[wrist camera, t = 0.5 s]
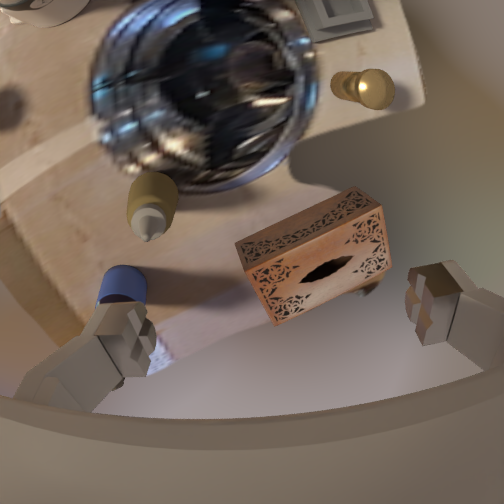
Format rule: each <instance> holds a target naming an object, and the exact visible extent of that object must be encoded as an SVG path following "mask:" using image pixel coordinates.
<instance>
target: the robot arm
mask: <svg viewBox="0 0 504 504" xmlns="http://www.w3.org/2000/svg"><path fill="white" fill-rule="evenodd" d="M89 1H90V0H0V7H1V9H0V10H1V12H3V13H5V14H7V15H9V16H10V21H11V23H13V24H25V23H27V24H31V25H33V26H36V27H43V28H46V27H53V26H57V25H59V24H62V23H64V22H66V21H68V20H70V19H71V18H73V17H74V16H75V15H77V14H78V13H79V12H80V11H81V10H82V9H83V8H84V7H85V6H86V5H87V4H88V2H89ZM407 280H408V281H409V283H410V285H411V286H410V287H409V289H408V290H407V291H406V295H405V306H406V312H407V315H408V317H409V319H410V321H411V322H413V323H415V324H416V329H415V332H416V334H417V336H418V338H419V340H420V342H421V344H422V346H425V345H431V344H435V343H440V342H444V341H447V343H449V344H450V345H451V346H452V347H454V348H455V349H456V350H458V351H459V352H460V353H462V354H463V355H465V356H466V357H467V358H468V359H470V360H471V361H472V362H474V363H475V364H476V365H477V366H479V367H480V368H481V369H483V370H484V371H483V372H481V373H478V374H475V375H472V376H469V377H466V378H463V379H460V380H457V381H454V382H451V383H447V384H444V385H440V386H437V387H433V388H429V389H426V390H422V391H419V392H415V393H410V394H406V395H402V396H398V397H393V398H389V399H384V400H380V401H375V402H370V403H365V404H359V405H354V406H349V407H343V408H336V409H329V410H322V411H315V412H307V413H299V414H289V415H279V416H267V417H253V418H235V419H234V418H233V419H164V418H144V417H129V416H118V415H108V414H99V413H91V412H92V411H93V410H94V409H95V408H96V407H97V405H98V404H99V403H100V402H101V401H102V400H103V399H104V398H105V397H106V396H107V395H108V394H109V392H111V390H112V389H113V388H114V387H115V386H116V385H117V384H118V383H119V382H120V381H121V380H122V379H123V378H122V377H146V375H147V371H148V368H149V365H150V362H151V360H150V358H149V357H148V356H149V355H150V354H151V353H152V352H153V351H154V350H155V347H156V331H155V327H154V325H153V323H152V322H151V321H150V320H148V319H147V318H146V314H147V310H146V307H145V305H144V303H142V302H140V301H136V302H119V303H104V304H100V305H98V306H97V308H96V309H95V311H94V313H93V314H92V316H91V318H90V320H89V321H88V323H87V325H86V326H85V328H84V330H83V332H82V333H81V335H80V336H76V337H75V338H73V339H72V340H70V341H69V342H68V343H66V344H65V345H64V346H62V347H61V348H59V349H58V350H57V351H55V352H54V353H53V354H51V355H50V356H49V357H47V358H46V359H45V360H43V361H42V362H40V363H39V364H38V365H37V366H35V367H34V368H32V369H31V370H30V371H28V372H27V373H26V375H25V377H24V378H23V380H22V382H21V384H20V385H19V387H18V389H17V391H16V393H15V395H14V396H13V398H9V397H5V396H2V395H0V504H504V298H503V297H501V296H499V295H497V294H495V293H493V292H490V291H488V290H486V289H484V288H479V289H478V287H477V286H476V285H475V284H474V283H473V281H472V280H471V279H470V278H469V276H468V275H467V274H466V273H465V272H464V270H463V269H462V268H461V267H460V266H459V265H458V263H457V262H456V261H454V260H448V261H443V262H439V263H435V264H430V265H424V266H419V267H413V268H410V270H409V273H408V279H407Z"/></svg>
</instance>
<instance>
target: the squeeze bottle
mask: <svg viewBox="0 0 504 504" xmlns="http://www.w3.org/2000/svg"><path fill="white" fill-rule="evenodd" d="M177 203H178V189H177V187H176V185H175V183H174V181H173V180H172V179H171V178H169V177H168V176H167V175H165V174H162V173H159V172H147V173H145V174H143V175H141V176H139V177H138V178H137V179H136V180H135V181H134V182H133V183H132V185H131V188H130V191H129V197H128V206H127V220H128V224H129V225H130V227H131V229H132V230H133V232H134V233H135V235H137V236H138V237H139V238H141V239H142V240H143V241H145V242H148V241H150V240H154V239H156V238H158V237H160V236H161V235H162V234H164V233H165V232H166V231H167V230H168V229H169V228H170V226H171V223H172V221H173V217H174V214H175V210H176V206H177Z"/></svg>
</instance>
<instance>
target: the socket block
mask: <svg viewBox="0 0 504 504" xmlns="http://www.w3.org/2000/svg"><path fill="white" fill-rule="evenodd" d="M295 1H296V3H297V6H298V8H299V10H300V13H301V15H302V18H303V20H304V22H305V25H306V27H307V30H308V32H309V35H310V38H311V40H312V43H314V42H318V41H321V40H325V39H329V38H334V37H338V36H342V35H347V34H351V33H356V32H361V31H366V30H371V29H373V28H372V25H371V22H370V20H369V19H372V18H374V17H373V14H372V11H371V9H370V6H369V3H368V1H367V0H295Z"/></svg>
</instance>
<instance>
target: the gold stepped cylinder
mask: <svg viewBox="0 0 504 504" xmlns="http://www.w3.org/2000/svg"><path fill="white" fill-rule="evenodd" d="M330 86H331V90H332V92H333V94H334V95H335V96H336V97H338V98H340V99H344V100H349V101H354V102H359V103H361V104H362V105H363V106H365V107H366V108H370V109H374V110H383V109H385V108H387V107H388V106H389V105H390V104H391V103H392V101H393V98H394V95H395V87H394V83H393V81H392V79H391V77H390V76H389V75H388V74H387V73H386V72H384V71H383V70H380V69H366V70H364V71H362V72H344V71H342V72H338V73H336V74H335V75H334V76H333V77H332V79H331V83H330Z"/></svg>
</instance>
